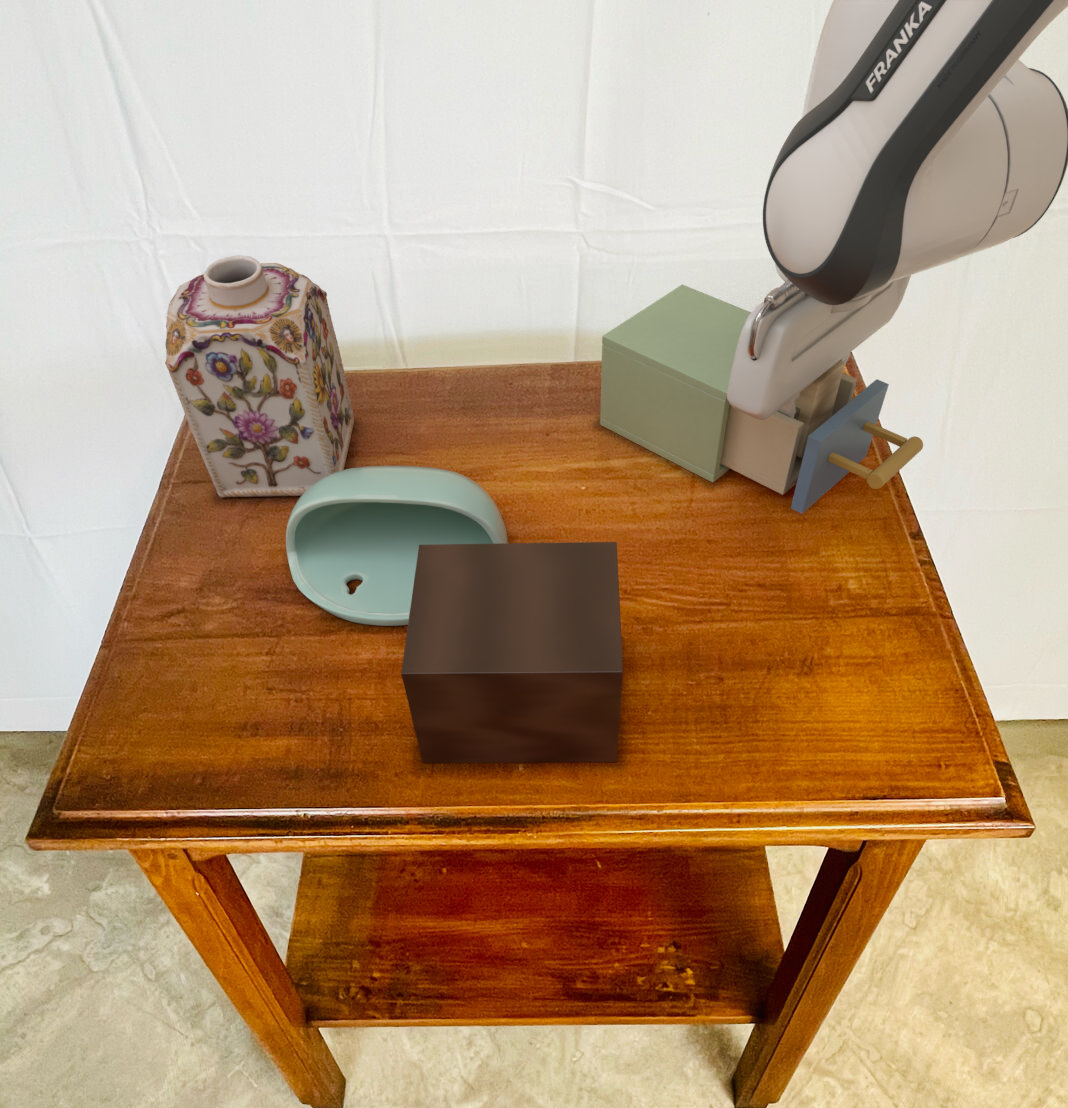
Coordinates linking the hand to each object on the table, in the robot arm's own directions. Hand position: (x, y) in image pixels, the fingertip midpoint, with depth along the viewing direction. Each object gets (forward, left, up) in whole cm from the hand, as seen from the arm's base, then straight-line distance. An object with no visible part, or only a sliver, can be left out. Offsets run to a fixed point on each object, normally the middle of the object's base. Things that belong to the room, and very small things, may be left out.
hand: (800, 412), depth 77 cm
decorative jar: (+39, -25, -6) cm, 47 cm away
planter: (+35, -7, -6) cm, 37 cm away
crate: (+33, +12, -6) cm, 36 cm away
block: (0, 0, -3) cm, 3 cm away
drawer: (0, +1, -5) cm, 5 cm away
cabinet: (+3, -10, -6) cm, 13 cm away
